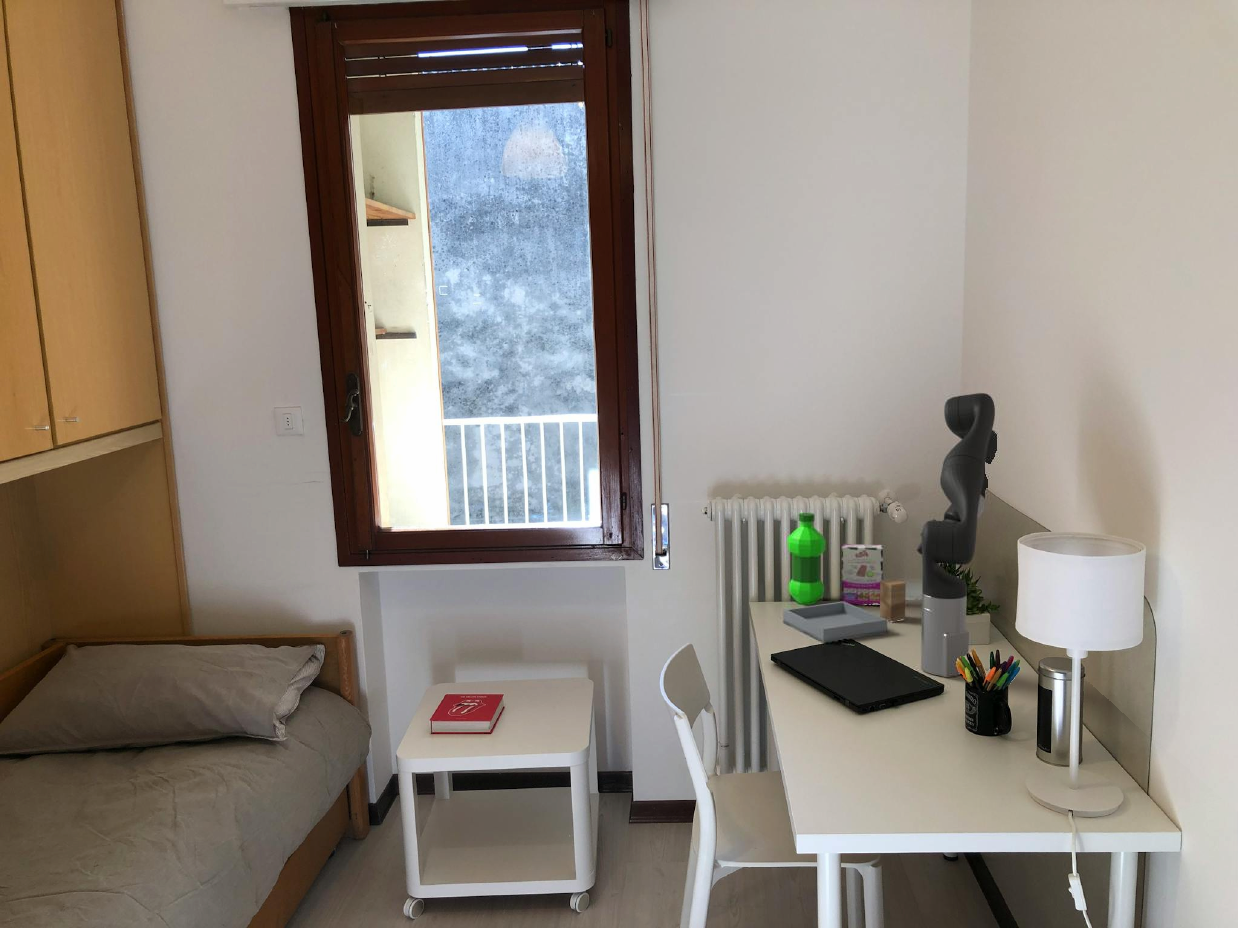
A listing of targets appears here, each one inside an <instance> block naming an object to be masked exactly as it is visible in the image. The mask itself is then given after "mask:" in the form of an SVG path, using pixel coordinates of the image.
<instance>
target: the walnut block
mask: <svg viewBox="0 0 1238 928" xmlns="http://www.w3.org/2000/svg"><path fill="white" fill-rule="evenodd" d="M906 586H907V585H906V582H904V581H901V580H898V579H888V580H887V579H886V580H883V581H880V606H879V609H880V610H879V616H880V617H882V618H885V619H887V620H888V621H897V620H901V619H905V620H906V593H907V591H906V589H907V587H906ZM888 621H887V622H888Z"/></svg>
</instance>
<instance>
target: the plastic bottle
mask: <svg viewBox="0 0 1238 928" xmlns="http://www.w3.org/2000/svg"><path fill="white" fill-rule="evenodd" d="M798 521H799V522H800V526H799V527H798V528H796V529H795V530H794V531H793V532H792V533H791V534H790V535H789V536H788V538H787V540H786V541H787V543H786V544H787V547H788V548H787V549H788V551H789V552H790V553H791V580H790V581H789V583H788V592H789V593H790V595H791V597H792V598H793V599H794V600H795V601H796V602H797V603H798V604H802V605H813V604H815V603H817V601H819V600H820V599H821V598H822V597H823V595H824V593H825V586H824V583H823V582H822V580H821V579H822V554H823V553H825V551H826V545H827V543H826V539H825V537H824V536H823V534H822V533H820V532H819V530H817V529H816V528H815V527H814V526H813V522H815V513H812V512H801V513H800V512H799V513H798Z"/></svg>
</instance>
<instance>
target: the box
mask: <svg viewBox="0 0 1238 928" xmlns="http://www.w3.org/2000/svg"><path fill="white" fill-rule="evenodd" d="M782 610H783V611H782V613H783V615H782V617H783V618H782V620H783V621H782V623H783V624H785V625H787V626H788V627H791V628H793V629H794V630H796V631H799V632H800V633H803V634H804V635H807V636H808V637H811V638H812V639H814V640H816V641H817V642H820V643H822V644H826V642H828V643H833V642H832V641H834V642H838V640H841V639H847V640H851V639H852V640H854V639H858V638H864V637H871V636H872V637H873V636H877V635H885V634H884V633H886V634H888V621H887V619H885V618H882V617H880V615H877V614H874V613H872V612H870V611H867V610H866V609H863V608H861V607H858V606H857V605H851V604H849V603H846V602H844V601H843V602H842V601H837V602H831V603H830V602H829V603H823V604H815V605H807V606H801V607H800V606H799V607H793V608H786V609H785V608H784V609H782ZM841 641H842V640H841Z"/></svg>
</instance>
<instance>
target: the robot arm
mask: <svg viewBox="0 0 1238 928" xmlns="http://www.w3.org/2000/svg"><path fill="white" fill-rule="evenodd" d="M944 403H945V404H944V413H943V414H944V421H945V423H946V425H947V428H948V429H949V431H951V432H952V433H953V434H954V435H956V437H958V438H959V439H960V441H959V442H958V443H957V444H956V445H954V446H953V447H952V449H951V450H950V451H949V452H948V453H947V454H946V455H945V457H944V459H943V463H942V466H941V467H942V468H941V473H940V478H939V479H940V481H939V482H940V483H939V484H940V488H941V490H942V492H943V494H944V495H945V497H946V499H947V500H948V501H949V502H950V503H951V504H950V505H949V506H948V508H947V509H946V511H944V514H943V519H942V520H936V518H934V519H932V520H927V521H926V522H925V523H924V525H923V527H922V531H921V533H920V536H921V542H920V543H919V544H918V546H917V548H916V551H917V552H918V554H920V555H921V556H922V557H921V558H922V594H921V631H920V634H921V639H920V641H921V643H920V651H921V652H920V668H921V670H922V671H924V672H926V673H927V674H931V675H935V676H941V677H943V678H951V677H955V676H961V675H960V674H959V672H958V670H957V667H956V661H957V658H959V657H960V656H965V655H967V654H968V655H969V649H970V648H969V647H970V646H969V644H970V633H969V631H968V630H966V629H967V597H968V596H967V595H968V593H967V592H968V586H967V583H966V581H965V580H963V579H962V578H960V577H957V576H955V575H953V574H950V573H949V572H947V571H946V570H945V569H944V568H942V567H941V566H940V564H946V565H958V566H959V565H960V566H962V565H968V564H970V563H971V562H972V561H973V558H974V555H975V551H976V543H977V542H976V541H977V527H978V519H979V518H980V516H981V515H982V513H983V512H984V510H985V509H984V503H985V490H986V488H988V479H987V477H986V474H985V462H986V463H988V464H991V462H992V460H993V459H994V457H995V453H996V451H997V434H998V433H997V432H996V431H995V430H993V428H994V425H995V418H996V417H995V416H996V408H995V407H996V406H995V401H994V400H993V397H992V396H991V395H989V394H988V393H983V392H979V393H977V392H976V393H971V394H963V395H957V396H953V397H950V398H949V399H947V400H946V402H944ZM995 432H996V433H997V434H996V433H995ZM983 509H984V510H983Z"/></svg>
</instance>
